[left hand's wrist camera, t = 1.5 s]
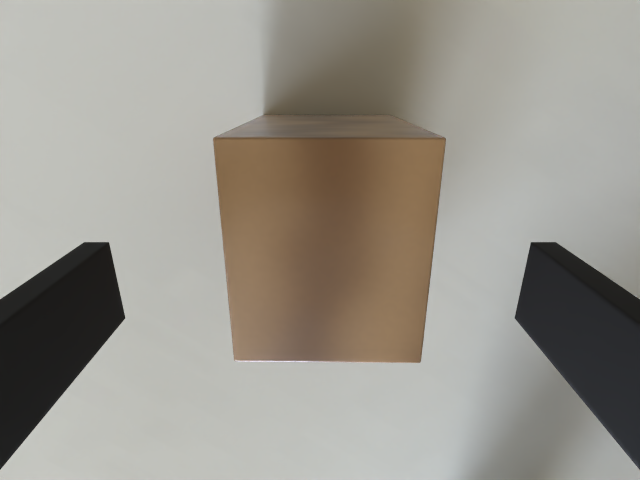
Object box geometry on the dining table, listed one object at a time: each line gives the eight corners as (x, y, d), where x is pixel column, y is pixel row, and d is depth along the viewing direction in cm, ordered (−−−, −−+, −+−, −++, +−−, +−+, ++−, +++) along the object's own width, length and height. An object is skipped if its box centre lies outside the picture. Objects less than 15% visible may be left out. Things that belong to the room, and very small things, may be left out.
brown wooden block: (392, 114, 23) (446, 137, 13) (383, 254, 27) (420, 363, 16) (262, 114, 23) (212, 137, 13) (269, 254, 27) (233, 362, 16)
